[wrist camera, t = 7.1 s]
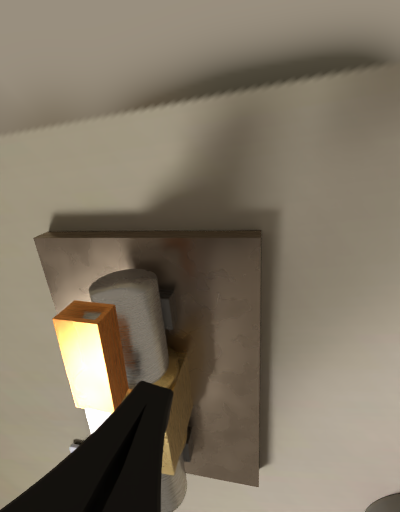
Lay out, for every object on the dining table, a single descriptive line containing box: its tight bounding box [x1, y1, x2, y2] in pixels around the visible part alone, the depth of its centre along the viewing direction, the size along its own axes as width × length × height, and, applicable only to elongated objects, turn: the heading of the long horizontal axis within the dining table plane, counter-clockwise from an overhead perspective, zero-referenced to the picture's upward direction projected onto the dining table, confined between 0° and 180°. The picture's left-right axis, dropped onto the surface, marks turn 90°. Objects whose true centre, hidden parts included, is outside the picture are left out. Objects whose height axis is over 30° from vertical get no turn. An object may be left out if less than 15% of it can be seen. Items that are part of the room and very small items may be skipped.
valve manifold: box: [34, 230, 261, 512], centre depth 21 cm, size 24×16×8 cm, turn 4°
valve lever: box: [53, 300, 129, 434], centre depth 15 cm, size 12×3×2 cm, turn 1°
